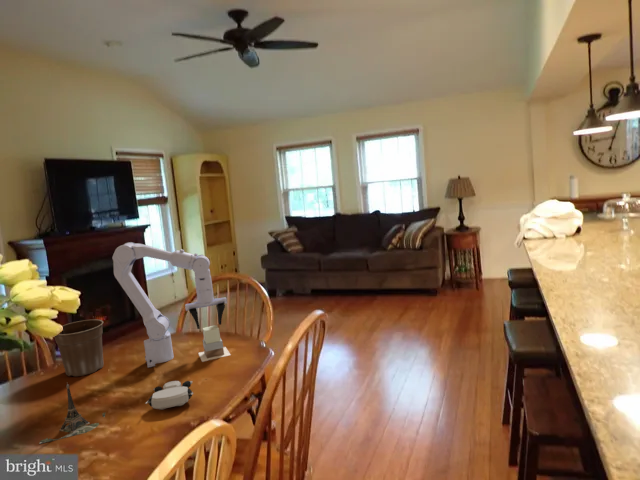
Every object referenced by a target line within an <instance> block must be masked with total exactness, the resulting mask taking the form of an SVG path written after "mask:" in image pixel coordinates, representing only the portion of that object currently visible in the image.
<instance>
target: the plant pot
mask: <svg viewBox="0 0 640 480" xmlns="http://www.w3.org/2000/svg"><path fill="white" fill-rule="evenodd" d="M103 325H104V321H103V320H101V319H85V320H79V321H73V322H70V323H66V324H63V325H62V326H63V331H62V332H61V333H60V334H59V335H57V336H55V337H54V340H55V344H57V348H58V350H59V354H60V357H61V361H62V365H63V368H64V371H65V372H64V373H65V375H66V376H67V377H71V376H73V377H81V376H87V375H90V374H93V373H96V372H98V370H100V369H102V368H103V367H104V365H105V363H104V351H103V350H104V349H103V331H104V330H103Z"/></svg>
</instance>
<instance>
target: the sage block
mask: <svg viewBox="0 0 640 480" xmlns="http://www.w3.org/2000/svg"><path fill="white" fill-rule="evenodd" d="M202 334H203V340H204V341H205V343H206V344H209V343H213V342H218V341H221V340H222V339H221V340H220V338H221V334H220V328H219V327H218V325H217V324H216V325H211V326H206V327H202Z"/></svg>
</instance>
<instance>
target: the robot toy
mask: <svg viewBox="0 0 640 480" xmlns="http://www.w3.org/2000/svg"><path fill="white" fill-rule="evenodd" d="M192 384H193V380H186V381H183V382H182V383H181V381H179V380H172V381H168V382H166V383H164V384H163V386H158V385H157V386H156V387H154V388H153V389H152V390H153V391H154V393H152V395H151V396H150V397H149V398H148V400H147V401H146V402H145V404H146V405H147V404H148V405H149V406H150V407H151V408H152V409H156V410H160V411H161V410H166V409H168V408H173V407H182V406H184V405H185V404H186V403H188V402H189V400H190V399H191V398H192V396H193V395H194V392H193V390H191V389H190V388H191V387H192Z"/></svg>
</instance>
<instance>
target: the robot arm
mask: <svg viewBox="0 0 640 480" xmlns="http://www.w3.org/2000/svg"><path fill="white" fill-rule="evenodd" d="M146 257H148V258H151V259H155V260H156V259H157V260H161V261H167V262H169V263H170V264H171V266H172V267H175V268H180V269H185V270H189V271H191V270H192V271H193V273H194V283H195V291H196V299H197V301H194V302H191V303H186V304H184V307H185V311H186V312H187V311H189V313H190V316H191V317H192V318H193V320H194V323H195V325H196V329H197V330H199V329H200V327H201V326H200V322H199V314H198V311H197V310H198V309H201V308H206V307H211V306H212V307H214V306H216V307H215V308H216V312H217V322H218V325H222V318H223V313H224V311H225V308H226V304H228V299H227V297H219V298H218V297H217V298H216V297H214V289H213V281H212V280H213V279H212V274H211V270H210V266H211V261H210V259H209V258H208V257H207V256H206V255H204V254H198V253H191V252H186V251H185V249H182V248H181V249H179V250H178V249H177V250H175V251H172V252H171V251H168V250H164V249H161V248H157V247H154V246H150V245H147V244H143V243H139V242H138V243H135V242H132V241H130V242H129V241H128V242H125V243H124V244H122V245H119V246H118V247H116V248H115V250H114V253H113V255H112V257H111V258H112V262H113V263H112V265H113V275H114V278H115V279H116V280H117V282H118V284H119V285H120V287H121V288H122V290H123V291H124V292H125V294H126V295H127V297H129V299H130V301H131V303H132V304H133V305H134V307H135V308H136V310H137V311H138V313H139V314H140V315H141V317H142V321H143V324H144V326H145V328H146V335H147V336H148V337H149V338H148V339H145V340H143V345H144V346H143V347H144V353H145V356H144V359H145V362H146V364H147V368H152V367H153V368H154V367H156V364H161V363H165V362H170V361H171V360H173V359H174V356H175V355H174V351H173V343H172V335H171V332H170V331H169V330H168V329H169V328H170V324H171V323H170V319H169V318H168V317H167V316H165V315H164V314H162V312H161V311H160V310H159V309H157V308H156V307H155V306H154V304H153V303H152V301H151V299H150V298H149V297H148V295H147V294H146V292H145V290H144V289H143V288H142V286H141V285H140V283H139V281H138V280H137V279H136V277H135V275H134V274H133V273H132V269H133V265H134V264H135V261H136V260H139V259H143V258H146Z"/></svg>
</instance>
